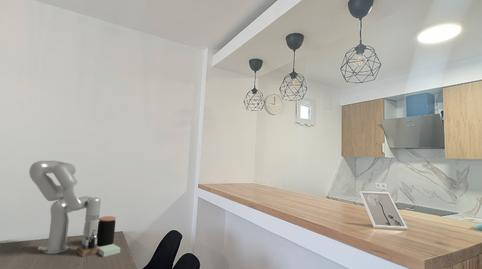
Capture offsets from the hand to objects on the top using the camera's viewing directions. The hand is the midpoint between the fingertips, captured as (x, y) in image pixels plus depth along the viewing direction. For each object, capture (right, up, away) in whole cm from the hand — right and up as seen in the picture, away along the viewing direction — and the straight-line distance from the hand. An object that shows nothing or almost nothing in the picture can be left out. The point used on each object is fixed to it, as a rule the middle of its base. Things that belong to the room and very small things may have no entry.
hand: (89, 246), depth 160 cm
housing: (0, -1, 0) cm, 1 cm away
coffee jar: (+2, -6, +15) cm, 16 cm away
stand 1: (0, -4, 0) cm, 4 cm away
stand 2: (+12, -5, +1) cm, 13 cm away
